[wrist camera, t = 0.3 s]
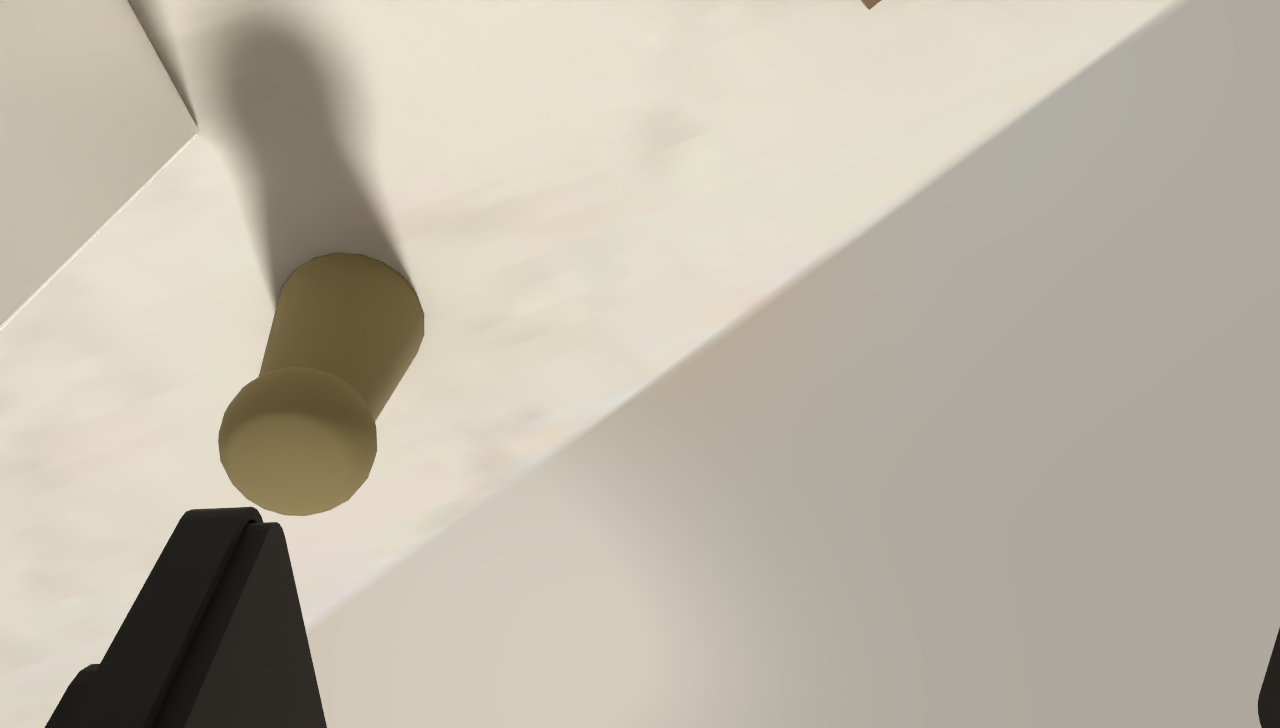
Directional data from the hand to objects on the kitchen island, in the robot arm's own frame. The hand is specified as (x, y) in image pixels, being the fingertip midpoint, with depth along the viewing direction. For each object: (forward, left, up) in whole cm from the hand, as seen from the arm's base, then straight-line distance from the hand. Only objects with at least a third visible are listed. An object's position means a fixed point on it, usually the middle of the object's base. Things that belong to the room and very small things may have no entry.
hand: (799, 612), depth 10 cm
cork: (+15, -11, -34) cm, 39 cm away
